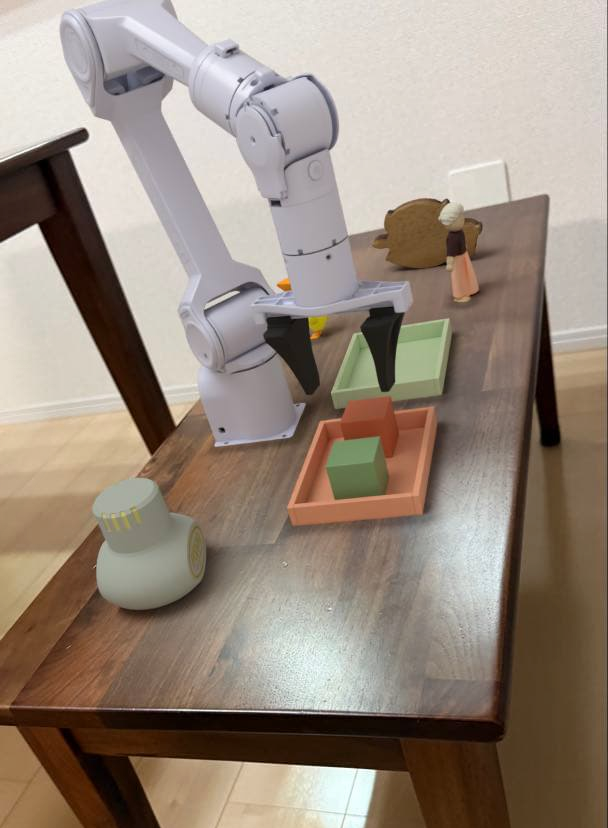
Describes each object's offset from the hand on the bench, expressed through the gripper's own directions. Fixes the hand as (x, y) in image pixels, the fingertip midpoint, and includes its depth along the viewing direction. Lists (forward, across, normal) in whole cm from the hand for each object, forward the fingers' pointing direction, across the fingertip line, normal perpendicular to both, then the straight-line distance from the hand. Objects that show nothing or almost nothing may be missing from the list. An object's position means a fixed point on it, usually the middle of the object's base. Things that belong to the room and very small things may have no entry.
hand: (350, 388), depth 78 cm
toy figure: (+10, +20, -33) cm, 40 cm away
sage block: (+9, -1, +4) cm, 10 cm away
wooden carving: (+10, +11, -57) cm, 59 cm away
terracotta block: (+9, +1, -4) cm, 10 cm away
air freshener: (+10, +14, +19) cm, 25 cm away
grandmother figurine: (+10, +2, -43) cm, 44 cm away
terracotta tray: (+9, 0, 0) cm, 9 cm away
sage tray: (+9, +4, -22) cm, 24 cm away
